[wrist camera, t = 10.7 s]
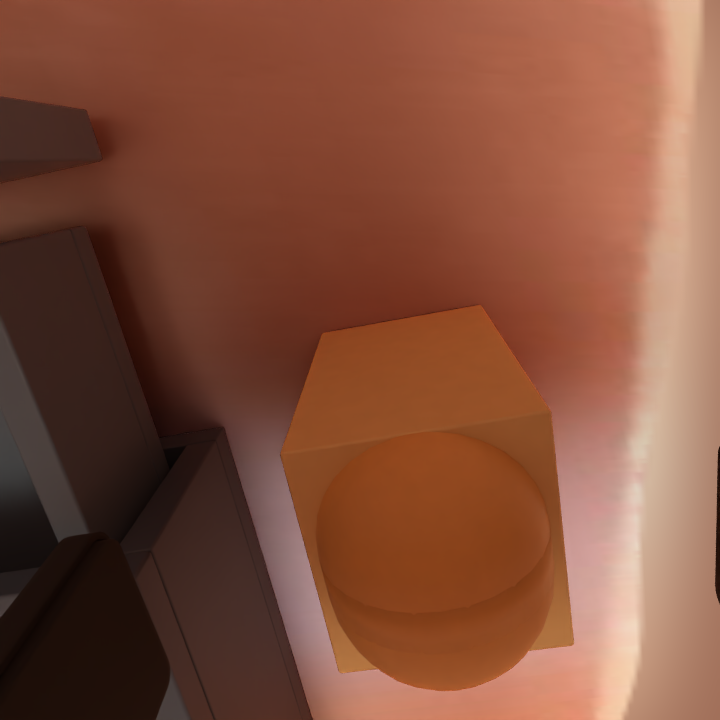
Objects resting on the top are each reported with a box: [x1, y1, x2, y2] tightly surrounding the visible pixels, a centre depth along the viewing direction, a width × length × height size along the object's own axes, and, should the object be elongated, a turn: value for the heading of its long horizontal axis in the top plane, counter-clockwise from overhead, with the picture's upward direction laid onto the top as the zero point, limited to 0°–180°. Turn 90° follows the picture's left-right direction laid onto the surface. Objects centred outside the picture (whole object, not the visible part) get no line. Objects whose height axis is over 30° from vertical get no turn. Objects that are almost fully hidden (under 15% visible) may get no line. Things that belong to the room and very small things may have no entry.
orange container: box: [280, 305, 574, 691], centre depth 13 cm, size 5×5×9 cm
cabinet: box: [0, 427, 312, 720], centre depth 17 cm, size 14×14×7 cm
